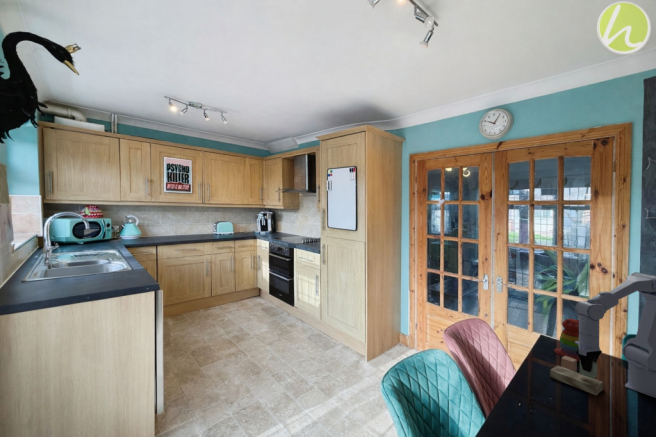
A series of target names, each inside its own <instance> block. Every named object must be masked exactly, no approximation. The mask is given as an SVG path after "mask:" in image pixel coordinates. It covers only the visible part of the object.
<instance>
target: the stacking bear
mask: <svg viewBox="0 0 656 437" xmlns="http://www.w3.org/2000/svg"><path fill="white" fill-rule="evenodd" d="M561 324H562V327H563V330H562V331H561V333H560V336H559V345H560V348H559V347H558V348H555V349H554V350H553V351H554V353H555V354H557V356H561V358H562V357H564V356H567V357H570V358H573V359H576V360H577V362H580V359H579V357H578V355H577V353H576V350H577V349H579V346H578V344H575V341H579V319H578V318H577V319H574V318H566V319H565V320H563V321H562V322H561Z"/></svg>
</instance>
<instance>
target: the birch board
mask: <svg viewBox="0 0 656 437" xmlns="http://www.w3.org/2000/svg"><path fill="white" fill-rule="evenodd" d="M549 371H550V373H549V377H550V378H551V379H553V380H557V381H559V382H561V383H565V384H567V385H569V386H572V387H574V388H577V389H579V390H581V391H584V392H587V393H588V394H592V395H594V396H598V395H599V393H601V392H602V391H603V389H604V387H603V382H604V381H602V380H599V379H596V378H594V379H592V378H589V377H586V376H584V375H581V374H580V372H577V371H576V372H575V371H572V370H569V369H566V368H564V367H561V365H555V366H554V367H553V368H551V369H550V370H549Z"/></svg>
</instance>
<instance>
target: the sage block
mask: <svg viewBox="0 0 656 437" xmlns="http://www.w3.org/2000/svg"><path fill="white" fill-rule="evenodd" d="M579 373H580V374H581V375H584V376H586V377H589V378H592V379H596V378H597V377H598V362H597V363H596V362H593V365H592V370H591V372H587V371H585V370H583V368H582V365H581V361H579Z"/></svg>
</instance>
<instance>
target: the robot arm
mask: <svg viewBox="0 0 656 437" xmlns="http://www.w3.org/2000/svg"><path fill="white" fill-rule="evenodd" d="M636 292H638V293H639V294H641V295H642V296H644V298H645V299H646V300H645V304H644V306H643V310H642V314H641V317H640V321H639V324H638V328H637V331H636V335H635V337H633V338H630V339H629V338H628V339H627V341H626V343H625V345H623V347H622V350H621V353H622V355H623V357H625V358H626V362H628V381H627V382H626V383H625V384H624V387H625V388H628V389H630V390H632V391H635V392H639V393H642V394H644V395H647V396H650V397H653V398H656V275H654V274H653V275H652V274H648V273H641V272H636V271H635V272H633V273H631V274H629V275H627V276H626V278H625V280H624V281H623V282H621V283H620V284H619V285H617V286H616V287H614V288H613V289H611V290H609V291H600V292H598V294H596V295H594V296H592V297H591V298H588V299H587V300H581V301H579V302H577V303H576V305H575V306H574V311H575V313H576V315H577V319H578V320H579V341H575V344H578V346H579V349H577V350H576V353H577V355H578V357H579V359H580V361H581V365H582V368H583V370H585V371H587V372H591V370H592V365H593V362H596V363H597V364H598V359H599V357H600V356H601V354H602V353H603V350H601V347H600V320H602V319H603V318H604V316H605V314H606V313H607V311H609V310H611V309H612V308H615V307H616V306H617V305H619V301H620V300H621V299H624V298H626V297H627V296H629V295H632V294H634V293H636ZM580 361H579V362H580Z"/></svg>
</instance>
